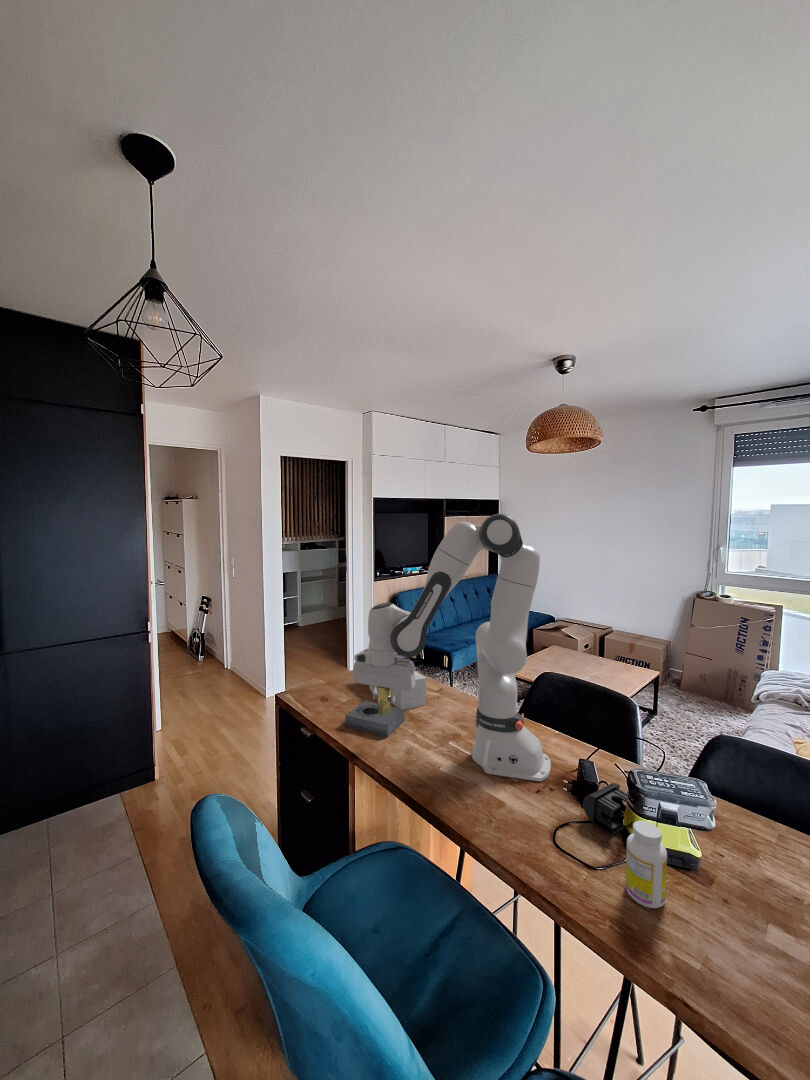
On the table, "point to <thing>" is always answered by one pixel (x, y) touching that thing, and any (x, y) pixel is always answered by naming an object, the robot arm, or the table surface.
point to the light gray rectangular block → (411, 694)
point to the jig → (374, 719)
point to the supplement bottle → (646, 865)
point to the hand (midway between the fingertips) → (384, 699)
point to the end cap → (607, 808)
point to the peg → (383, 700)
